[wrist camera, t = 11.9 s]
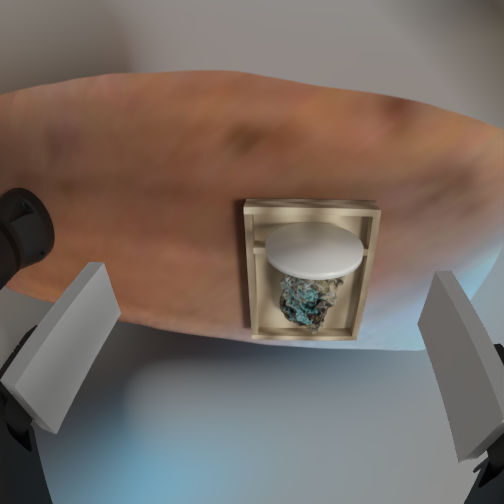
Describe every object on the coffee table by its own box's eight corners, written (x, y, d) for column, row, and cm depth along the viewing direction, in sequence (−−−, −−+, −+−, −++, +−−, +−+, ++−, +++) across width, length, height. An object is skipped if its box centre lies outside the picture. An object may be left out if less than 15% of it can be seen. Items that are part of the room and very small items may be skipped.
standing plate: (268, 228, 45) (261, 278, 35) (268, 221, 44) (261, 271, 34) (353, 229, 44) (371, 280, 33) (354, 223, 43) (372, 272, 33)
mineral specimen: (286, 246, 45) (277, 294, 40) (350, 257, 44) (348, 306, 39) (280, 291, 55) (271, 333, 50) (333, 300, 54) (328, 343, 49)
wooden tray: (253, 326, 56) (252, 338, 54) (246, 198, 44) (243, 207, 42) (354, 328, 54) (356, 340, 52) (375, 201, 42) (381, 210, 39)
